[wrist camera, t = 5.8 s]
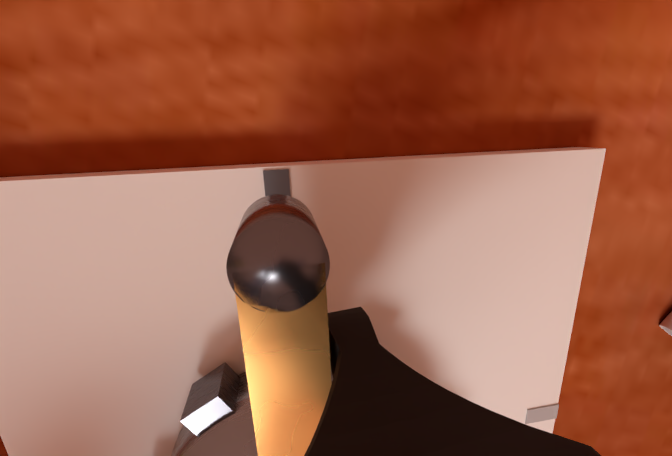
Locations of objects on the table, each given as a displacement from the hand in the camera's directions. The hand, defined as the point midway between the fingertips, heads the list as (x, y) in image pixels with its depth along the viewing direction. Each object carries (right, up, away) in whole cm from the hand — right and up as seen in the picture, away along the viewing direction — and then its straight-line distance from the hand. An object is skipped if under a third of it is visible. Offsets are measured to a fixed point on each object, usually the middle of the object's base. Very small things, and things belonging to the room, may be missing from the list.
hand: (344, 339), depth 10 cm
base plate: (-1, -5, +5) cm, 7 cm away
